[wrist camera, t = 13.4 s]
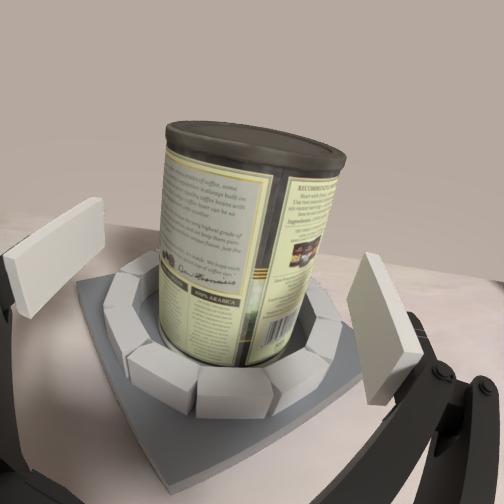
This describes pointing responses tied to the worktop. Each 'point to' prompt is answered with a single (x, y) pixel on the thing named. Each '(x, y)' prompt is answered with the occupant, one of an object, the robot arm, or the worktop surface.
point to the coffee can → (239, 238)
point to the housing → (210, 377)
